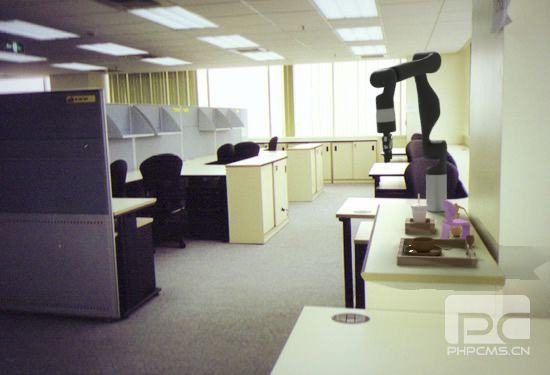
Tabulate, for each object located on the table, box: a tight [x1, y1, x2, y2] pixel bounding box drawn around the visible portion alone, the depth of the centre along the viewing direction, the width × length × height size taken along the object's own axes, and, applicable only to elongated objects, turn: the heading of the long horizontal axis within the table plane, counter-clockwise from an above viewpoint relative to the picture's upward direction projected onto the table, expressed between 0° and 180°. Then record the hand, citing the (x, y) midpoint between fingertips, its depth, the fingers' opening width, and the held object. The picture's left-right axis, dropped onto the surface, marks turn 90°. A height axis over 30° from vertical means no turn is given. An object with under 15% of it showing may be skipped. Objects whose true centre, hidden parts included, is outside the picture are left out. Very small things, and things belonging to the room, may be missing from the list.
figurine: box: [444, 202, 469, 237], centre depth 186 cm, size 8×6×12 cm
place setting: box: [404, 234, 476, 257], centre depth 161 cm, size 18×20×6 cm
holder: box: [404, 217, 436, 235], centre depth 197 cm, size 11×11×4 cm
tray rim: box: [396, 237, 477, 268], centre depth 161 cm, size 25×22×2 cm
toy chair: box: [439, 199, 471, 239], centre depth 176 cm, size 8×9×15 cm
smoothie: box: [410, 193, 428, 223], centre depth 196 cm, size 6×6×14 cm
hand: (388, 160), depth 202 cm, fingers open, 8 cm apart
